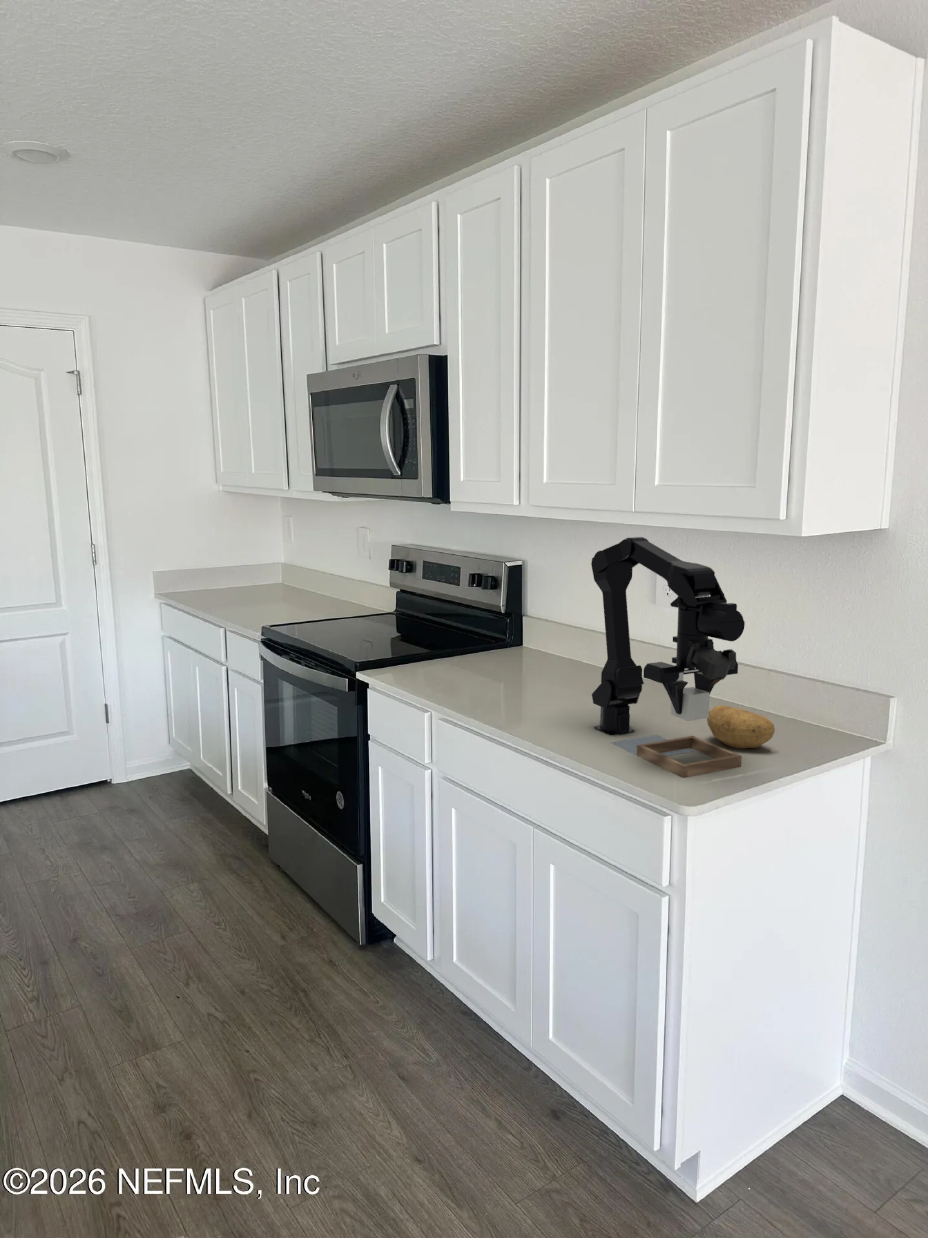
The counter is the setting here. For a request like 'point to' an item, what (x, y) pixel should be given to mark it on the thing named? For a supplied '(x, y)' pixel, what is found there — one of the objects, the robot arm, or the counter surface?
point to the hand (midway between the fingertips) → (689, 712)
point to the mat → (632, 743)
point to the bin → (721, 762)
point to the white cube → (693, 704)
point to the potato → (739, 727)
